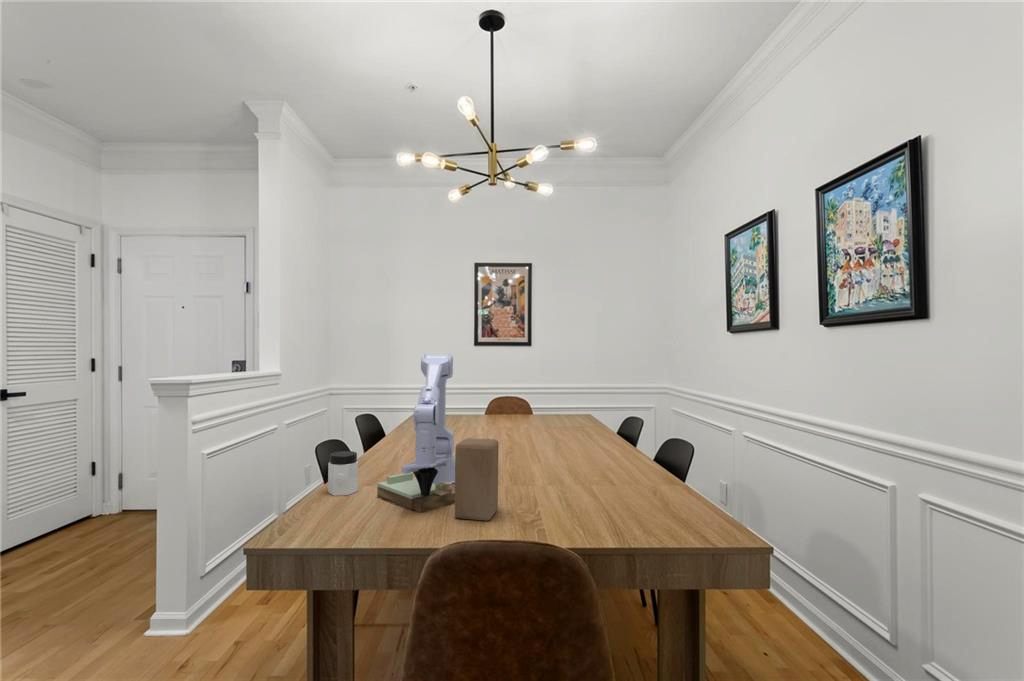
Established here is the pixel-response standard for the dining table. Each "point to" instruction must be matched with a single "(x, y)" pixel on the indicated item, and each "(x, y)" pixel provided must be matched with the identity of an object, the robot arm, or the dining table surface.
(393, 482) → the lid
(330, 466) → the jar
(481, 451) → the block
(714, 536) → the dining table surface
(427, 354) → the robot arm
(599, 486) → the dining table surface
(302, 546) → the dining table surface
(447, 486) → the pale grey block
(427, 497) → the brown wooden tray
